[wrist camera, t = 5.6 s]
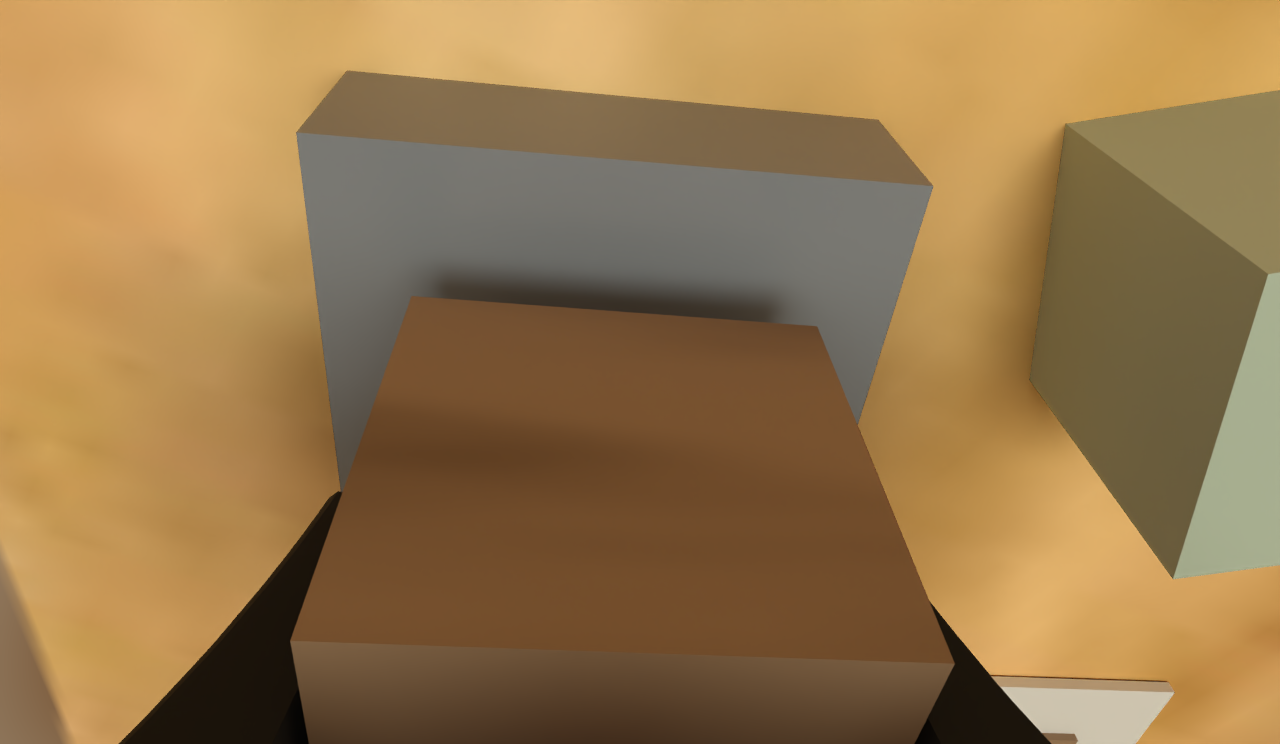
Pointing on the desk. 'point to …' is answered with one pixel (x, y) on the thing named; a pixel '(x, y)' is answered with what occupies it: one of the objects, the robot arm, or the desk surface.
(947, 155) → the desk surface
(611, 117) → the slate slab
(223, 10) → the desk surface
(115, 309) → the desk surface
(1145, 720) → the placard
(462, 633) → the walnut block
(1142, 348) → the sage block
